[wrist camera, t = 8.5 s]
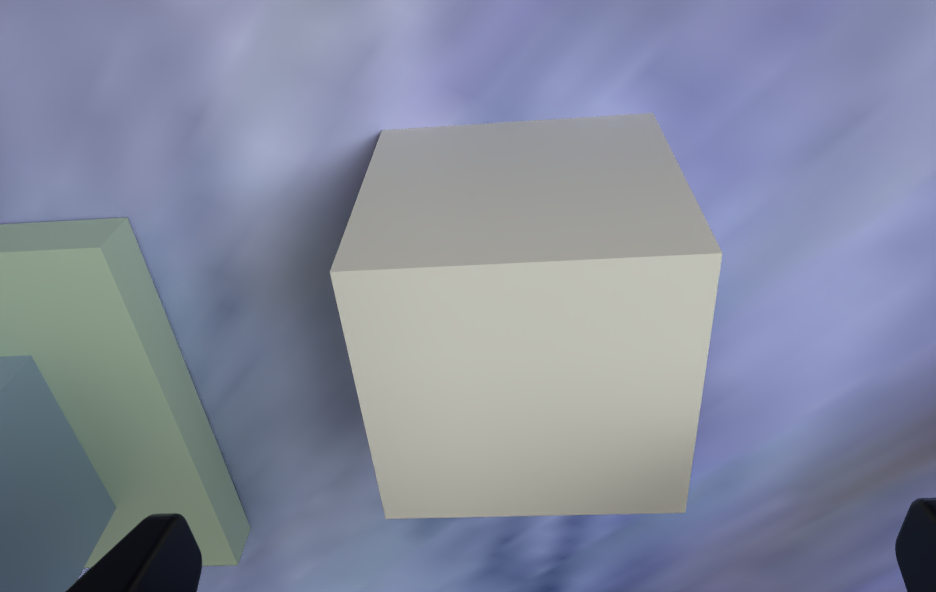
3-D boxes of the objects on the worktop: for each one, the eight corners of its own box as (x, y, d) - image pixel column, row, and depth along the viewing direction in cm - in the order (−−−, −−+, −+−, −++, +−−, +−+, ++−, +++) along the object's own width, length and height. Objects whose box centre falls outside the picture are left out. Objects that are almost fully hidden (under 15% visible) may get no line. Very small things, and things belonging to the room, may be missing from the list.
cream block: (637, 328, 16) (684, 512, 12) (414, 337, 16) (385, 519, 12) (652, 111, 13) (722, 252, 9) (382, 128, 13) (329, 272, 9)
